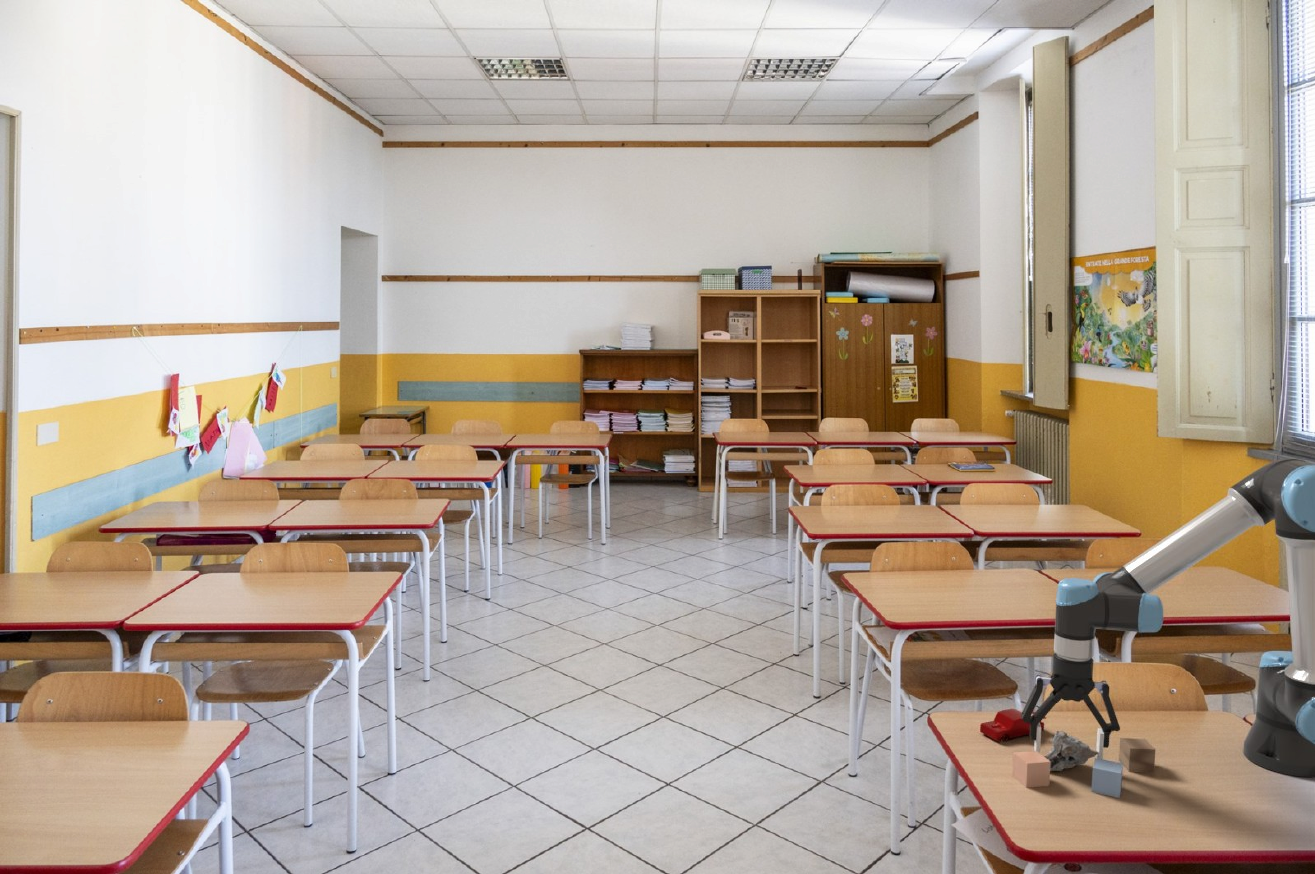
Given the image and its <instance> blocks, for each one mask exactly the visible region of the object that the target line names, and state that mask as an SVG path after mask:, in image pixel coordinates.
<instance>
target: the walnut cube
mask: <svg viewBox="0 0 1315 874" xmlns="http://www.w3.org/2000/svg"><path fill="white" fill-rule="evenodd" d="M1118 753H1119V754H1118V762H1119V763H1123V768H1125V769H1126V770H1127V771H1128V773H1130V772H1131V773H1155V765H1156V764H1155V762H1156V761H1155V760H1156V748H1155V747H1154V746H1153V745H1152V744H1151V743H1150V742H1149V741H1148V740H1147V739H1146V738H1129V737H1128V738H1126V737H1120V739H1119V752H1118Z"/></svg>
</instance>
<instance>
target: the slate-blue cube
mask: <svg viewBox="0 0 1315 874" xmlns="http://www.w3.org/2000/svg"><path fill="white" fill-rule="evenodd" d="M1123 769H1124V766H1123V763H1121V762H1120V761H1118V762H1117V761H1113V760H1108V759H1104V758H1103V759H1099V758H1096V757H1094V761H1093V765H1092V773H1091V774H1092V775H1091V776H1092V777H1091V790H1090V791H1091V792H1092V793H1096V794H1101V795H1105V796H1109V797H1114V798H1118V799H1119V798H1121V791H1122V784H1123V783H1122V781H1123Z"/></svg>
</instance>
